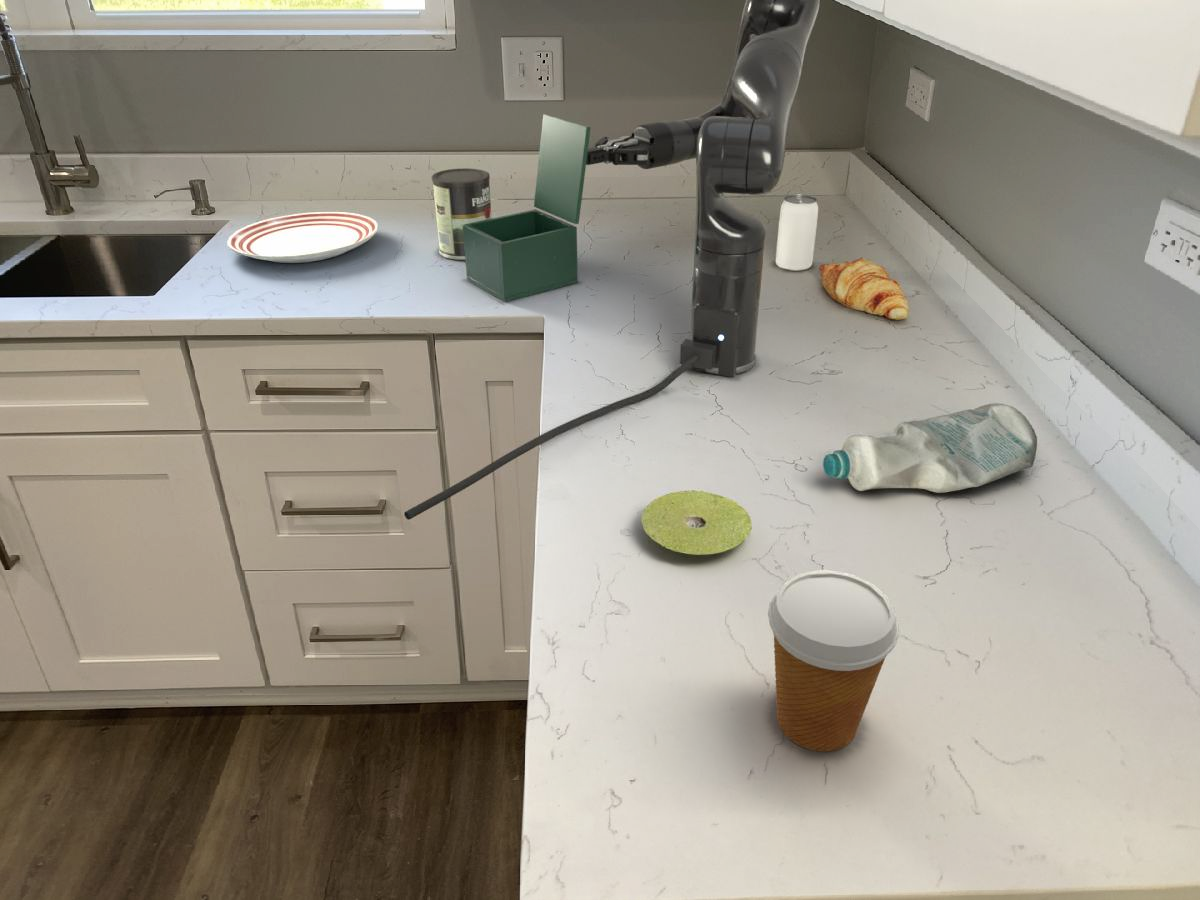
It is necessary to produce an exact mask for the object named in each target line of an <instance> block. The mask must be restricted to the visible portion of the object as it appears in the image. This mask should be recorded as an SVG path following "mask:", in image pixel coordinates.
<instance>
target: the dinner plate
mask: <svg viewBox="0 0 1200 900" xmlns="http://www.w3.org/2000/svg"><path fill="white" fill-rule="evenodd" d="M378 231H379V224H378V222H377V221H376V220H375V219H374V218H372V217H370V216H367V215H364V214H359V213H353V212H343V211H316V212H315V211H313V212H304V213H295V214H287V215H280V216H277V217H273V218H267V219H264V220H261V221H258V222H254V223H252V224H248V225H247V226H244V227H242V228H240V229H238V230H237V231H235V232H233V233H232V234H231V235H230V236H229V238H228V239H227V241H226V242H227V243H226V244H227V247H229V249H230V250H231V251H233V252H235V253H238V254H240V255H242V256H245V257H249V258H252V259H256V260H263V261H269V262H273V263H279V264H280V263H282V264H301V263H311V262H317V261H322V260H327V259H332V258H334V257H338V256H340V255H343V254H345V253H347V252H349V251H351V250H353V249H355V248H357V247H360V246H361V245H363V244H365V243H366V242H368V241H369V240H370V239H372V238H373V237H374V236H375V235H376V234H377V232H378Z"/></svg>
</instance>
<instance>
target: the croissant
mask: <svg viewBox="0 0 1200 900" xmlns="http://www.w3.org/2000/svg"><path fill="white" fill-rule="evenodd" d="M819 275H820V277H821V284H822V286H823V288H824V289H825V291H826V293H828V295H829V297H831V298H832V299H833V300H835V301H836V302H838V303H840V304H842V305H843V306H844V307H847V308H849V309H851V310H852V309H853V310H855V311H860V312H866V313H868V314H869V315H878V316H881V317H882V316H885V317H886V318H887V319H889V320H903V319H906V318H907V317H908V316H909V313H910V306H909V303H908V299H907V298H906V297H905V295H904V290H903V289H902V288H901V287H900V283H899V282H898V281H897V280H895V279H892V278H891V277H890V275H889V273H888V272H887V270H886V268H884V266H882V265H880V264H878V263H876V262H874V261H872V260H868V259H865V258H863V257H860V258H858V259H854V260H852V261H844V262H843V263H842V262H841V263H835V262H834V263H833V262H832V263H830V264H829V263H821V264H820V266H819Z"/></svg>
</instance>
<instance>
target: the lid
mask: <svg viewBox="0 0 1200 900" xmlns="http://www.w3.org/2000/svg"><path fill="white" fill-rule="evenodd" d="M542 115H543V116H542V123H541V133H540V134H541V135H540V143H539V152H538V153H539V154H538V164H537V173H536V182H535V192H534V202H533V207H534V208H537V210H540V211H542V212H544V213H547V214H549V215H553V216H554V217H556V218H559V219H561V220H563V221H564V220H565V221H566V222H568V223H570V224H574V225H579V224H580V216H581V209H582V199H583V192H584V185H585V184H584V183H585V177H586V168H587V165H586V161H587V153H588V149H589V144H590V136H591V129H592V128H591V126H589V125H588V126H587V125H584V124H581V123H578V122H575V121H570V120H567V119H563V118H560V117H557V116H554V115H551V114H545V113H544V114H542Z"/></svg>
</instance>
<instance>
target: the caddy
mask: <svg viewBox="0 0 1200 900" xmlns="http://www.w3.org/2000/svg"><path fill="white" fill-rule="evenodd" d="M463 237H464V249H465V260H464V261H465V270H466V271H465V272H466V281H468V282H469V283H471V284H473V285H474V286H476V287H478V288H480V289H481V290H483V291H485V292H486V293H488V294H490V295H491V296H493V297H495V298H497V299H499V300H501V301H502V302H504V303H507V302H510V301H514V300H518V299H522V298H525V297H529V296H533V295H538V294H540V293H541V294H542V293H545V292H548V291H552V290H555V289H559V288H563V287H567V286H570V285H575V284H578V282H579V280H578V275H579V274H578V273H579V272H578V228H577V226H576V225H573V224H572V223H570V222H567V221H564V220H563V219H560V218H558V217H556V216H552V215H551V214H549V213H546V212H544V211H542V210H539V209H531V210H526V211H520V212H517V213H511V214H506V215H502V216H497V217H492V219H487V220H483V221H478V222H473V223H468V224H464V225H463Z"/></svg>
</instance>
